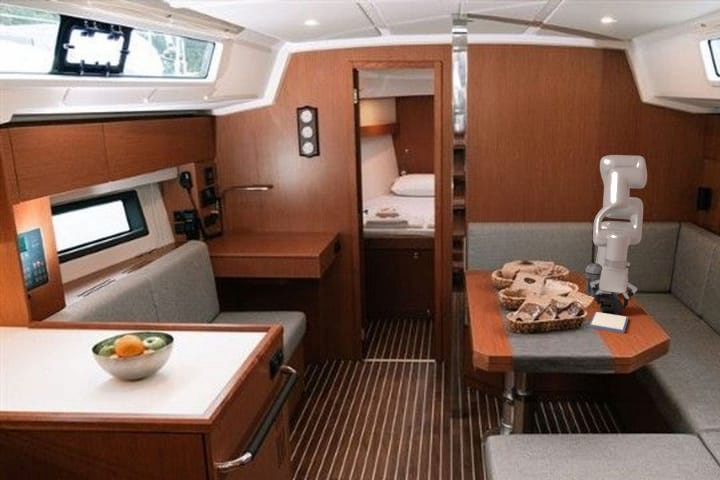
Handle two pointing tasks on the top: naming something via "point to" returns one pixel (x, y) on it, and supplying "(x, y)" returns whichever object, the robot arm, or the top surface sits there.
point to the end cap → (611, 304)
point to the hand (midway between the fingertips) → (611, 305)
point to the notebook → (609, 322)
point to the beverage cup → (592, 277)
